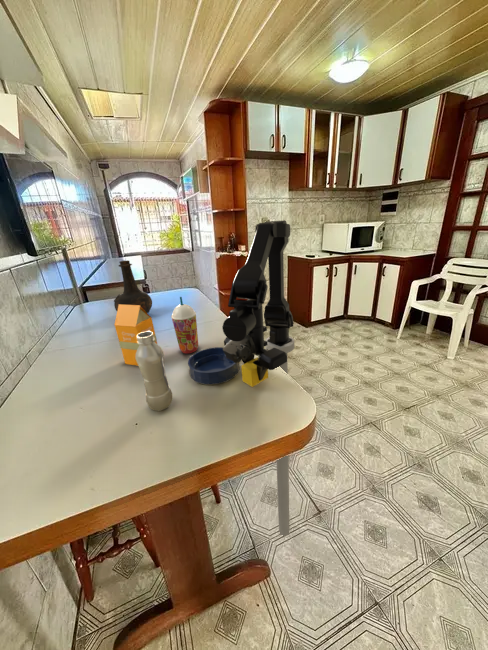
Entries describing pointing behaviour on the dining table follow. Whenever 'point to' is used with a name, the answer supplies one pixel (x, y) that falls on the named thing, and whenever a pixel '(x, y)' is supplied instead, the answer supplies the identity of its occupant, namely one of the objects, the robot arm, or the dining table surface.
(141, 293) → the glass bottle
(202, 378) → the bowl
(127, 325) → the orange juice
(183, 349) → the smoothie
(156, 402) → the plastic bottle
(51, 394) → the dining table surface
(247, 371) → the sponge
